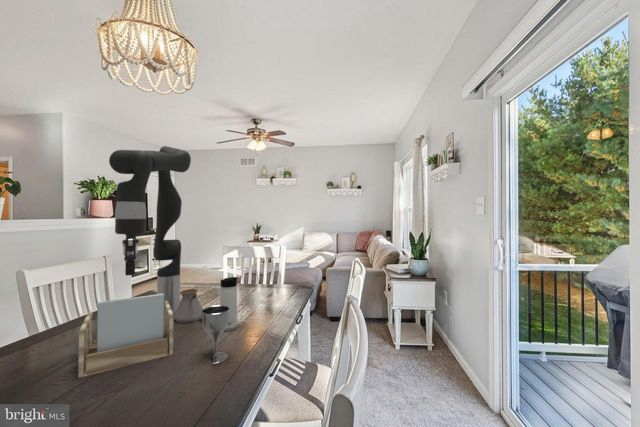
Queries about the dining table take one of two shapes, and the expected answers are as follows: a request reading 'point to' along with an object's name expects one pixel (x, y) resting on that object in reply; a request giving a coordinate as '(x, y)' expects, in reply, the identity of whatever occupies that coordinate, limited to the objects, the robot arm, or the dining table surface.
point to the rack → (121, 349)
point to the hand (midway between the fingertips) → (130, 272)
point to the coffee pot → (188, 307)
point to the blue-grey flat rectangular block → (130, 321)
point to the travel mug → (229, 300)
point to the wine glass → (216, 327)
